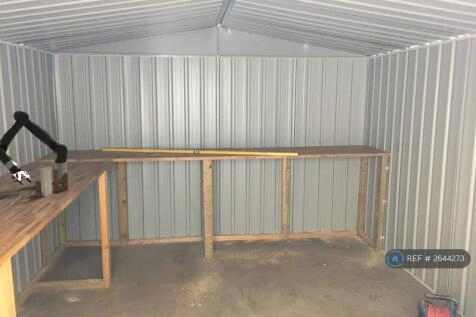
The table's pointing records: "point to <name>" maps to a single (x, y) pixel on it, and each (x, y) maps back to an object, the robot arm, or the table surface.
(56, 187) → the wooden rod assembly
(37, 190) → the brown rectangular block
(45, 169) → the grey stand
